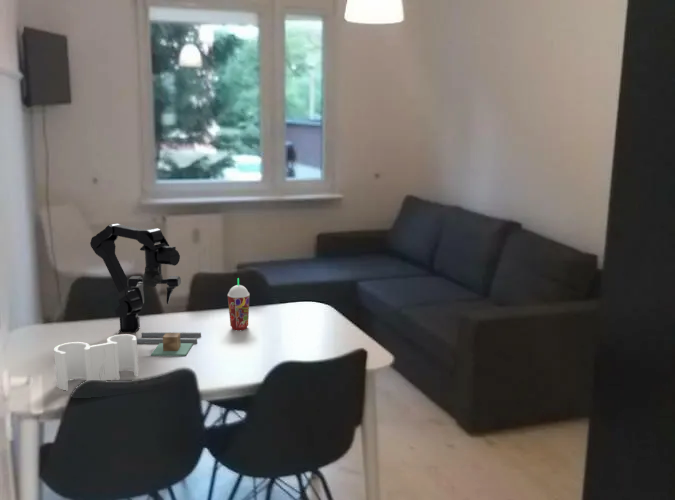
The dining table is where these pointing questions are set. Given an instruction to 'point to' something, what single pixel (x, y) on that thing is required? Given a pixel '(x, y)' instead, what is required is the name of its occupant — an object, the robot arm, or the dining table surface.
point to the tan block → (171, 342)
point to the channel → (161, 334)
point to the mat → (181, 352)
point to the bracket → (95, 359)
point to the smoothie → (238, 307)
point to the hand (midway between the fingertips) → (155, 303)
